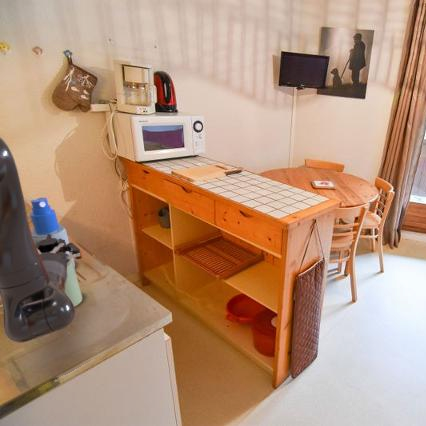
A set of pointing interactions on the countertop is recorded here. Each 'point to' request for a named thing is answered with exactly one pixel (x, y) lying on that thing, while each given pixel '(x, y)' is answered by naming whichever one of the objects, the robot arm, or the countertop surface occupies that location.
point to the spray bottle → (46, 222)
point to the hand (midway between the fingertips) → (50, 243)
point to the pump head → (48, 244)
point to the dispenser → (72, 285)
